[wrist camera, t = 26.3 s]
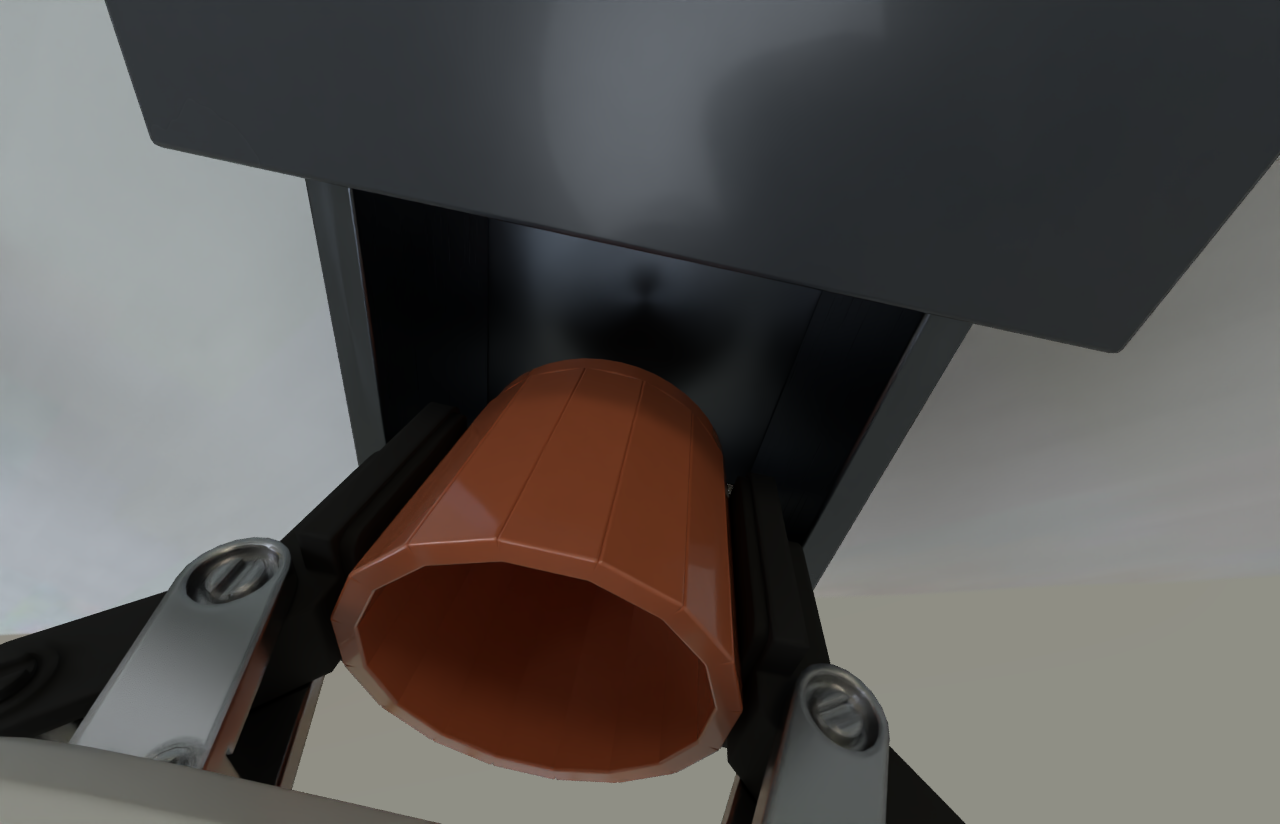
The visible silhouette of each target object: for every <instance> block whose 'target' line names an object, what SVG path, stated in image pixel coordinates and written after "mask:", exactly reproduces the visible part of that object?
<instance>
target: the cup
mask: <svg viewBox="0 0 1280 824" xmlns="http://www.w3.org/2000/svg"><path fill="white" fill-rule="evenodd" d="M330 617H331V620H330V621H331V625H332V628H333V631H334V635H335V638H336V642H337V645H338V648H339V652H340V655H341V659H342V662H343V663H344V665H345V667H346V668H347V669H348V670H349V671H350V673H351V674H352V675H353V676H354V677H355V678H356V679H357V681H358V682H359V683H360V684H361V685H362V686H363V687H364V688H365V690H366V691H367V692H368V693H369V694H370V695H371V696H372V697H373V699H374V700H375V701H376V702H377V703H378V704H379V705H381V706H382V708H384V709H385V710H387V711H388V712H390V713H391V714H393V715H394V716H396V717H398V718H399V719H401V720H402V721H403V722H405V723H406V724H408V725H410V726H411V727H413V728H414V729H416V730H417V731H419V732H420V733H422V734H423V735H425V736H426V737H428V738H429V739H432V740H433V741H435V742H437V743H439V744H442V745H444V746H447V747H449V748H451V749H454V750H456V751H459V752H461V753H464V754H466V755H468V756H471V757H473V758H476V759H478V760H481V761H483V762H485V763H488V764H493V765H494V766H498V767H502V768H506V769H511V770H515V771H519V772H524V773H528V774H533V775H537V776H541V777H546V778H550V779H555V778H556V779H557V780H572V781H591V782H610V783H616V782H626V781H632V780H638V779H644V778H650V777H656V776H662V775H668V774H673V773H674V772H675V773H677V772H679V771H681V770H683V769H685V768H686V767H688V766H690V765H692V764H694V763H696V762H698V761H699V760H701V759H703V758H705V757H707V756H709V755H711V754H713V753H715V752H717V751H718V750H719V749H720V748H721V747H722V746H723V744H724V742H725V741H726V739H727V737H728V736H729V734H730V732H731V731H732V729H733V727H734V726H735V724H736V722H737V721H738V719H739V717H740V716H741V714H742V711H743V695H742V680H741V666H740V654H739V639H738V624H737V609H736V594H735V579H734V564H733V549H732V535H731V520H730V505H729V492H728V485H727V479H726V467H725V458H724V453H723V449H722V445H721V443H720V440H719V438H718V435H717V433H716V431H715V429H714V428H713V426H712V424H711V423H710V421H709V419H708V418H707V417H706V415H705V414H704V413H703V412H702V410H701V409H700V408H699V407H698V405H697V404H695V403H694V402H693V401H692V400H691V399H690V398H689V397H688V396H687V395H686V394H685V393H684V392H682V391H681V390H680V389H678V388H677V387H675V386H674V385H673V384H671V383H670V382H668V381H666V380H665V379H663V378H661V377H659V376H657V375H656V374H654V373H651V372H649V371H646V370H644V369H642V368H639V367H636V366H633V365H629V364H626V363H622V362H618V361H611V360H605V359H590V358H580V359H569V360H562V361H558V362H553V363H549V364H546V365H543V366H540V367H537V368H535V369H532V370H530V371H529V372H527V373H525V374H523V375H521V376H519V377H518V378H517V379H515V380H514V381H513V382H511V383H510V384H509V385H507V386H506V387H505V388H504V390H503V391H502V392H501V393H500V394H499V395H498V396H497V397H496V398H495V399H493V400H492V401H490V403H488V405H487V406H486V407H485V408H484V409H483V411H482V412H481V413H480V414H479V416H478V417H477V418H476V419H475V420H474V422H473V423H472V424H471V425H470V427H469V428H468V429H467V430H466V432H465V433H464V434H463V435H462V436H461V438H460V439H459V440H458V441H457V443H456V444H455V445H454V446H453V447H452V449H451V450H450V451H449V452H448V454H447V455H446V456H445V457H444V458H443V460H442V461H441V462H440V463H439V465H438V466H437V467H436V468H435V469H434V471H433V472H432V473H431V474H430V476H429V477H428V478H427V479H426V480H425V482H424V483H423V484H422V485H421V487H420V488H419V489H418V490H417V491H416V493H415V494H414V495H413V496H412V498H411V499H410V500H409V501H408V502H407V504H406V505H405V506H404V507H403V509H402V510H401V511H400V512H399V514H398V515H397V516H396V517H395V518H394V520H393V521H392V522H391V523H390V525H389V526H388V527H387V528H386V529H385V531H384V532H383V533H382V534H381V536H380V537H379V538H378V539H377V540H376V542H375V543H374V544H373V545H372V547H371V548H370V549H369V550H368V551H367V553H366V554H365V555H364V556H363V558H362V559H361V560H360V561H359V562H358V564H357V565H356V566H355V567H354V569H353V570H352V571H351V572H350V573H349V575H348V577H347V579H346V582H345V584H344V586H343V588H342V591H341V593H340V595H339V598H338V600H337V602H336V604H335V607H334V609H333V611H332V613H331V616H330Z"/></svg>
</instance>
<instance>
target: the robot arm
mask: <svg viewBox="0 0 1280 824" xmlns="http://www.w3.org/2000/svg"><path fill="white" fill-rule="evenodd" d="M466 430H467V418H466V416H465V415H461V414H460V410H459V408H457V407H454V406H450V405H445V404H441V403H436V402H431V403H429V404H428V405H427V406H426V407H425V408H424V409H422V410H421V411H420V412H419V413H418V414H417V415H416V416H415V417H414V418H413V419H412V420H411V421H410V422H409V423H408V424H407V425H406V426H405V427H404V428H403V429H402V430H401V431H400V432H399V433H398V434H396V435H395V436H394V437H393V438H392V439H391V440H390V441H389V442H388V443H387V444H386V445H385V446H384V447H383V448H382V449H381V450H380V451H377V452H375V453H373V454H372V455H371V456H369V457H368V458H367V459H366V460H365V461H364V462H363V463H362V464H361V465H360V466H359V467H358V468H357V469H356V470H355V471H353V472H352V473H351V474H350V475H349V476H348V477H347V478H346V479H345V480H344V481H343V482H342V483H341V484H340V485H339V486H338V487H337V488H336V489H335V490H333V491H332V492H331V493H330V494H329V495H328V496H327V497H326V498H325V499H324V500H323V501H322V502H321V503H320V504H319V505H318V506H317V507H316V508H315V509H313V510H312V511H311V512H310V513H309V514H308V515H307V516H306V517H305V518H304V519H303V520H302V521H301V522H300V523H299V524H298V525H297V526H296V527H295V528H293V529H292V530H291V531H290V532H289V533H288V534H287V535H286V536H285V537H284V538H283V539H282V540H281V541H277V540H274V539H270V538H259V537H252V538H246V539H239V540H235V541H232V542H229V543H226V544H222V545H219V546H217V547H215V548H213V549H211V550H209V551H207V552H205V553H203V554H202V555H200V556H199V557H198V558H196V559H195V560H193V561H192V562H191V563H189V564H188V565H187V566H186V567H185V568H184V569H183V571H182V572H181V573H180V574H179V575H178V576H177V577H176V579H175V580H174V582H173V583H172V585H171V587H170V588H169V590H168V591H166V592H163V593H159V594H156V595H153V596H150V597H147V598H144V599H140V600H137V601H134V602H131V603H128V604H125V605H122V606H118V607H115V608H112V609H109V610H106V611H103V612H100V613H96V614H93V615H90V616H87V617H84V618H81V619H77V620H74V621H71V622H68V623H65V624H62V625H59V626H55V627H52V628H49V629H46V630H43V631H40V632H36V633H33V634H30V635H27V636H24V637H21V638H18V639H15V640H11V641H8V642H6V643H3V644H1V645H0V824H440V823H436V822H431V821H427V820H423V819H418V818H414V817H410V816H405V815H401V814H396V813H392V812H388V811H383V810H378V809H375V808H370V807H366V806H361V805H357V804H353V803H348V802H343V801H339V800H335V799H330V798H326V797H321V796H317V795H312V794H308V793H304V792H299V791H295V790H292V787H293V783H294V780H295V777H296V773H297V770H298V766H299V763H300V759H301V756H302V752H303V749H304V746H305V742H306V739H307V735H308V732H309V728H310V725H311V721H312V718H313V714H314V711H315V707H316V704H317V701H318V697H319V694H320V690H321V687H322V684H323V680H324V677H325V675H326V674H328V673H330V672H332V671H333V670H334V668H335V667H336V666H337V664H338V663H339V661H340V660H341V661H342V659H341V655H340V652H339V648H338V645H337V642H336V638H335V635H334V631H333V628H332V625H331V621H330V620H331V617H330V616H331V613H332V611H333V609H334V607H335V604H336V602H337V600H338V598H339V595H340V593H341V591H342V588H343V586H344V584H345V582H346V579H347V577H348V575H349V573H350V572H351V571H352V570H353V569H354V567H355V566H356V565H357V564H358V562H359V561H360V560H361V559H362V558H363V556H364V555H365V554H366V553H367V551H368V550H369V549H370V548H371V547H372V545H373V544H374V543H375V542H376V540H377V539H378V538H379V537H380V536H381V534H382V533H383V532H384V531H385V529H386V528H387V527H388V526H389V525H390V523H391V522H392V521H393V520H394V518H395V517H396V516H397V515H398V514H399V512H400V511H401V510H402V509H403V507H404V506H405V505H406V504H407V502H408V501H409V500H410V499H411V498H412V496H413V495H414V494H415V493H416V491H417V490H418V489H419V488H420V487H421V485H422V484H423V483H424V482H425V480H426V479H427V478H428V477H429V476H430V474H431V473H432V472H433V471H434V469H435V468H436V467H437V466H438V465H439V463H440V462H441V461H442V460H443V458H444V457H445V456H446V455H447V454H448V452H449V451H450V450H451V449H452V447H453V446H454V445H455V444H456V443H457V441H458V440H459V439H460V438H461V436H462V435H463V434H464V433H465V432H466ZM729 505H730V520H731V535H732V549H733V564H734V579H735V594H736V609H737V624H738V639H739V654H740V666H741V680H742V695H743V711H742V714H741V716H740V717H739V719H738V721H737V722H736V724H735V726H734V727H733V729H732V731H731V732H730V734H729V736H728V737H727V739H726V741H725V742H724V744H723V746H722V747H725V748H727V755H728V756H727V757H728V763H729V764H730V765H731V767H732V768H733V769H734V771H735V772H736V776H735V779H734V783H733V786H732V789H731V792H730V796H729V799H728V802H727V805H726V809H725V812H724V815H723V819H722V822H721V824H965V823H964V822H963V821H962V820H961V819H960V817H959V816H958V815H956V813H954V811H953V810H952V809H951V808H950V807H949V806H948V805H947V804H946V803H945V802H944V801H943V800H942V799H941V798H940V797H939V796H938V795H937V794H936V793H935V792H934V791H933V790H932V789H931V788H930V787H929V786H928V785H927V784H926V783H925V782H924V781H923V780H922V779H921V778H920V777H919V776H918V775H917V774H916V773H915V772H914V770H913V769H912V768H911V767H910V766H909V765H907V763H906V762H905V761H903V759H902V758H901V757H900V756H899V755H898V754H897V753H896V752H895V751H894V750H893V749H892V748H891V747H890V746H889V741H890V738H889V728H888V722H887V720H886V717H885V714H884V712H883V709H882V707H881V705H880V704H879V702H878V701H877V699H876V697H875V696H874V694H873V693H872V692H871V691H870V690H869V689H868V687H866V686H865V684H864V683H863V682H862V681H861V680H860V679H858V678H857V677H856V676H854V675H853V674H851V673H850V672H849V671H847V670H845V669H842V668H840V667H838V666H835V665H832V664H830V660H829V656H828V652H827V647H826V644H825V639H824V635H823V631H822V626H821V622H820V619H819V614H818V610H817V605H816V601H815V597H814V593H813V589H812V584H811V580H810V576H809V572H808V568H807V563H806V559H805V555H804V551H803V549H802V546H801V545H800V544H799V543H796V542H792V541H788V538H787V534H786V529H785V524H784V519H783V514H782V509H781V504H780V499H779V495H778V490H777V485H776V481H775V478H774V477H772V476H767V475H763V474H758V473H753V472H748V473H747V474H746V477H742V476H738V477H737V479H736V481H735V484H734V486H733V489H732V492H731V494H730V497H729Z"/></svg>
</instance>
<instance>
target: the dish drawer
mask: <svg viewBox="0 0 1280 824" xmlns="http://www.w3.org/2000/svg"><path fill="white" fill-rule="evenodd" d="M305 181H306V186H307V192H308V197H309V202H310V208H311V213H312V218H313V224H314V229H315V235H316V240H317V245H318V251H319V256H320V261H321V267H322V272H323V277H324V283H325V288H326V293H327V299H328V304H329V310H330V315H331V320H332V326H333V331H334V336H335V342H336V347H337V352H338V358H339V363H340V369H341V374H342V379H343V385H344V390H345V395H346V401H347V406H348V411H349V417H350V422H351V428H352V433H353V438H354V444H355V449H356V454H357V460H358V465H359V466H360V465H361V464H362V463H363V462H364V461H365V460H366V459H367V458H368V457H369V456H371V455H372V454H373V453H375V452H377V451H380V450H381V449H382V448H383V447H384V446H385V445H386V444H387V443H388V442H389V441H390V440H391V439H392V438H393V437H394V436H395V435H396V434H398V433H399V432H400V431H401V430H402V429H403V428H404V427H405V426H406V425H407V424H408V423H409V422H410V421H411V420H412V419H413V418H414V417H415V416H416V415H417V414H418V413H419V412H420V411H421V410H422V409H424V408H425V407H426V406H427V405H428V404H429V403H431V402H436V403H441V404H445V405H450V406H454V407H457V408H459V410H460V414H461V415H465V416H466V418H467V429H468V428H469V427H470V425H471V424H472V423H473V422H474V420H475V419H476V418H477V417H478V416H479V414H480V413H481V412H482V411H483V409H484V408H485V407H486V406H487V405H488V403H490V401H492V400H493V399H495V398H496V397H497V396H498V395H499V394H500V393H501V392H502V391H503V390H504V388H505V387H506V386H507V385H509V384H510V383H511V382H513V381H514V380H515V379H517V378H518V377H519V376H521V375H523V374H525V373H527V372H529V371H530V370H532V369H535V368H537V367H540V366H543V365H546V364H549V363H553V362H558V361H562V360H569V359H580V358H590V359H605V360H611V361H618V362H622V363H626V364H629V365H633V366H636V367H639V368H642V369H644V370H646V371H649V372H651V373H654V374H656V375H657V376H659V377H661V378H663V379H665V380H666V381H668V382H670V383H671V384H673V385H674V386H675V387H677V388H678V389H680V390H681V391H682V392H684V393H685V394H686V395H687V396H688V397H689V398H690V399H691V400H692V401H693V402H694V403H695V404H697V405H698V407H699V408H700V409H701V410H702V412H703V413H704V414H705V415H706V417H707V418H708V419H709V421H710V423H711V424H712V426H713V428H714V429H715V431H716V433H717V435H718V438H719V440H720V443H721V445H722V449H723V453H724V458H725V467H726V479H727V484H732V485H734V484H735V481H736V479H737V477H738V476H742V477H746V474H747V473H748V472H753V473H758V474H763V475H767V476H772V477H774V478H775V481H776V485H777V490H778V495H779V499H780V504H781V509H782V514H783V519H784V524H785V529H786V534H787V538H788V541H792V542H796V543H799V544H800V545H801V546H802V549H803V551H804V555H805V559H806V563H807V568H808V572H809V576H810V580H811V584H812V589H813V590H814V588H815V587H816V585H817V583H818V582H819V580H820V578H821V577H822V575H823V573H824V571H825V570H826V568H827V566H828V565H829V563H830V561H831V560H832V558H833V556H834V555H835V553H836V551H837V550H838V548H839V546H840V545H841V543H842V541H843V540H844V538H845V536H846V535H847V533H848V531H849V530H850V528H851V526H852V525H853V523H854V521H855V520H856V518H857V516H858V515H859V513H860V511H861V510H862V508H863V506H864V505H865V503H866V501H867V500H868V498H869V496H870V495H871V493H872V491H873V490H874V488H875V486H876V485H877V483H878V481H879V480H880V478H881V476H882V475H883V473H884V471H885V470H886V468H887V466H888V465H889V463H890V461H891V460H892V458H893V456H894V455H895V453H896V451H897V450H898V448H899V446H900V444H901V443H902V441H903V439H904V438H905V436H906V434H907V433H908V431H909V429H910V428H911V426H912V424H913V423H914V421H915V419H916V418H917V416H918V414H919V413H920V411H921V409H922V408H923V406H924V404H925V403H926V401H927V399H928V398H929V396H930V394H931V393H932V391H933V389H934V388H935V386H936V384H937V383H938V381H939V379H940V378H941V376H942V374H943V373H944V371H945V369H946V368H947V366H948V364H949V363H950V361H951V359H952V358H953V356H954V354H955V353H956V351H957V349H958V348H959V346H960V344H961V343H962V341H963V339H964V338H965V336H966V334H967V333H968V331H969V329H970V328H971V326H972V324H973V323H968V322H963V321H959V320H954V319H950V318H945V317H940V316H936V315H931V314H927V313H922V312H917V311H913V310H908V309H904V308H899V307H894V306H890V305H885V304H881V303H876V302H871V301H867V300H862V299H858V298H853V297H848V296H844V295H839V294H835V293H830V292H825V291H821V290H816V289H812V288H807V287H802V286H798V285H793V284H789V283H784V282H779V281H775V280H770V279H766V278H761V277H756V276H752V275H747V274H743V273H738V272H733V271H729V270H724V269H720V268H715V267H710V266H706V265H701V264H697V263H692V262H687V261H683V260H678V259H674V258H669V257H664V256H660V255H655V254H651V253H646V252H641V251H637V250H632V249H628V248H623V247H618V246H614V245H609V244H605V243H600V242H595V241H591V240H586V239H582V238H577V237H572V236H568V235H563V234H558V233H554V232H549V231H545V230H540V229H535V228H531V227H526V226H522V225H517V224H512V223H508V222H503V221H499V220H494V219H489V218H485V217H480V216H476V215H471V214H466V213H462V212H457V211H453V210H448V209H443V208H439V207H434V206H430V205H425V204H420V203H416V202H411V201H407V200H402V199H397V198H393V197H388V196H384V195H379V194H374V193H370V192H365V191H361V190H356V189H351V188H347V187H342V186H338V185H333V184H328V183H324V182H319V181H315V180H310V179H305ZM729 497H730V495H729Z"/></svg>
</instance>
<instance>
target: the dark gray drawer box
mask: <svg viewBox="0 0 1280 824" xmlns="http://www.w3.org/2000/svg"><path fill="white" fill-rule="evenodd" d="M105 3H106V6H107V9H108V12H109V15H110V18H111V21H112V24H113V27H114V30H115V33H116V36H117V39H118V42H119V45H120V48H121V51H122V54H123V57H124V60H125V63H126V66H127V69H128V72H129V75H130V78H131V81H132V84H133V87H134V90H135V93H136V96H137V99H138V102H139V105H140V108H141V111H142V114H143V117H144V120H145V123H146V126H147V129H148V132H149V135H150V138H151V140H152V141H153V143H154V144H156V145H158V146H160V147H163V148H167V149H172V150H177V151H181V152H186V153H190V154H195V155H200V156H204V157H209V158H213V159H218V160H223V161H227V162H232V163H236V164H241V165H246V166H250V167H255V168H259V169H264V170H269V171H273V172H278V173H282V174H287V175H292V176H296V177H301V178H305V179H310V180H315V181H319V182H324V183H328V184H333V185H338V186H342V187H347V188H351V189H356V190H361V191H365V192H370V193H374V194H379V195H384V196H388V197H393V198H397V199H402V200H407V201H411V202H416V203H420V204H425V205H430V206H434V207H439V208H443V209H448V210H453V211H457V212H462V213H466V214H471V215H476V216H480V217H485V218H489V219H494V220H499V221H503V222H508V223H512V224H517V225H522V226H526V227H531V228H535V229H540V230H545V231H549V232H554V233H558V234H563V235H568V236H572V237H577V238H582V239H586V240H591V241H595V242H600V243H605V244H609V245H614V246H618V247H623V248H628V249H632V250H637V251H641V252H646V253H651V254H655V255H660V256H664V257H669V258H674V259H678V260H683V261H687V262H692V263H697V264H701V265H706V266H710V267H715V268H720V269H724V270H729V271H733V272H738V273H743V274H747V275H752V276H756V277H761V278H766V279H770V280H775V281H779V282H784V283H789V284H793V285H798V286H802V287H807V288H812V289H816V290H821V291H825V292H830V293H835V294H839V295H844V296H848V297H853V298H858V299H862V300H867V301H871V302H876V303H881V304H885V305H890V306H894V307H899V308H904V309H908V310H913V311H917V312H922V313H927V314H931V315H936V316H940V317H945V318H950V319H954V320H959V321H963V322H968V323H973V324H977V325H982V326H986V327H991V328H996V329H1000V330H1005V331H1009V332H1014V333H1019V334H1023V335H1028V336H1033V337H1037V338H1042V339H1046V340H1051V341H1056V342H1060V343H1065V344H1069V345H1074V346H1079V347H1083V348H1088V349H1092V350H1097V351H1102V352H1106V353H1118V352H1120V351H1121V350H1123V349H1124V347H1125V346H1126V345H1127V344H1128V342H1129V341H1130V340H1131V339H1132V337H1133V336H1134V335H1135V334H1136V332H1137V331H1138V330H1139V329H1140V327H1141V326H1142V325H1143V324H1144V323H1145V321H1146V320H1147V319H1148V318H1149V316H1150V315H1151V314H1152V313H1153V311H1154V310H1155V309H1156V308H1157V306H1158V305H1159V304H1160V303H1161V301H1162V300H1163V299H1164V298H1165V297H1166V295H1167V294H1168V293H1169V292H1170V290H1171V289H1172V288H1173V287H1174V285H1175V284H1176V283H1177V282H1178V280H1179V279H1180V278H1181V277H1182V275H1183V274H1184V273H1185V272H1186V271H1187V269H1188V268H1189V267H1190V266H1191V264H1192V263H1193V262H1194V261H1195V259H1196V258H1197V257H1198V256H1199V254H1200V253H1201V252H1202V251H1203V249H1204V248H1205V247H1206V246H1207V245H1208V243H1209V242H1210V241H1211V240H1212V238H1213V237H1214V236H1215V235H1216V233H1217V232H1218V231H1219V230H1220V228H1221V227H1222V226H1223V225H1224V223H1225V222H1226V221H1227V220H1228V219H1229V217H1230V216H1231V215H1232V214H1233V212H1234V211H1235V210H1236V209H1237V207H1238V206H1239V205H1240V204H1241V202H1242V201H1243V200H1244V199H1245V197H1246V196H1247V195H1248V194H1249V193H1250V191H1251V190H1252V189H1253V188H1254V186H1255V185H1256V184H1257V183H1258V181H1259V180H1260V179H1261V178H1262V176H1263V175H1264V174H1265V173H1266V171H1267V170H1268V169H1269V168H1270V167H1271V165H1272V164H1273V163H1274V162H1275V160H1276V159H1277V158H1278V157H1279V155H1280V0H105Z"/></svg>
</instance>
